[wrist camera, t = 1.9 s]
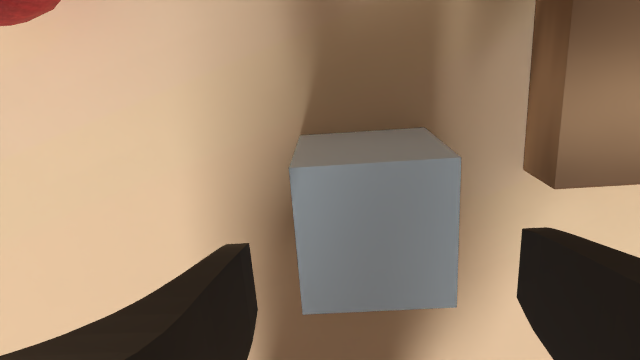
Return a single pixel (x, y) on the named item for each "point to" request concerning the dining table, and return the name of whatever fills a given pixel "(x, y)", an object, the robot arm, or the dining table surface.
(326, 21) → the dining table surface
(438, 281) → the cube
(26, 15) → the onion
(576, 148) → the base
